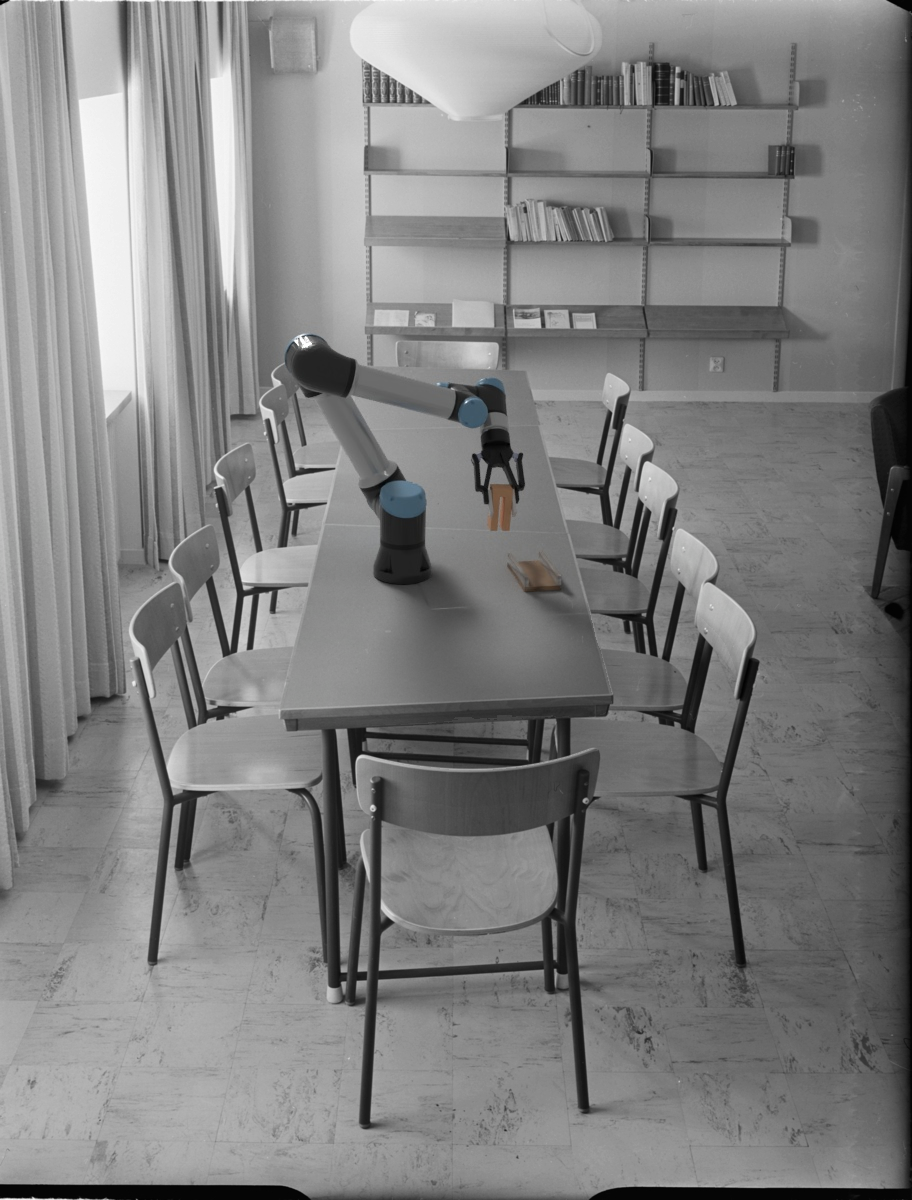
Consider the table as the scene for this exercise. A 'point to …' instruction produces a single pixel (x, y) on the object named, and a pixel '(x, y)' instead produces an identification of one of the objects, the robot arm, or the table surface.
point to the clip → (506, 506)
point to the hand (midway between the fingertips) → (502, 514)
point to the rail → (535, 573)
